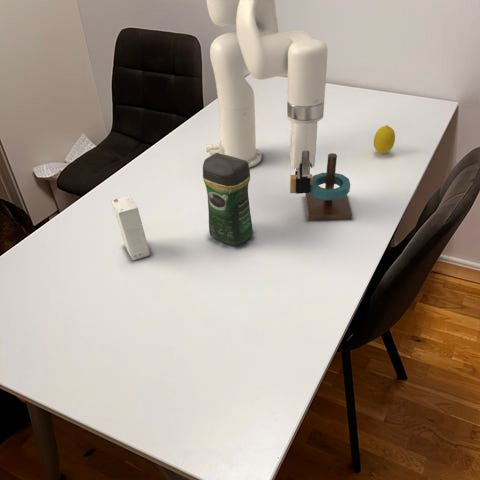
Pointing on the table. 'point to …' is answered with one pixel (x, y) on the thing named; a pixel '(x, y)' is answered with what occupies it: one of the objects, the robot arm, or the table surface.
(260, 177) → the table surface
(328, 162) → the peg stand
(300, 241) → the table surface
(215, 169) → the coffee jar
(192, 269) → the table surface
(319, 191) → the ring
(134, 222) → the cosmetic box
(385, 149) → the lemon
